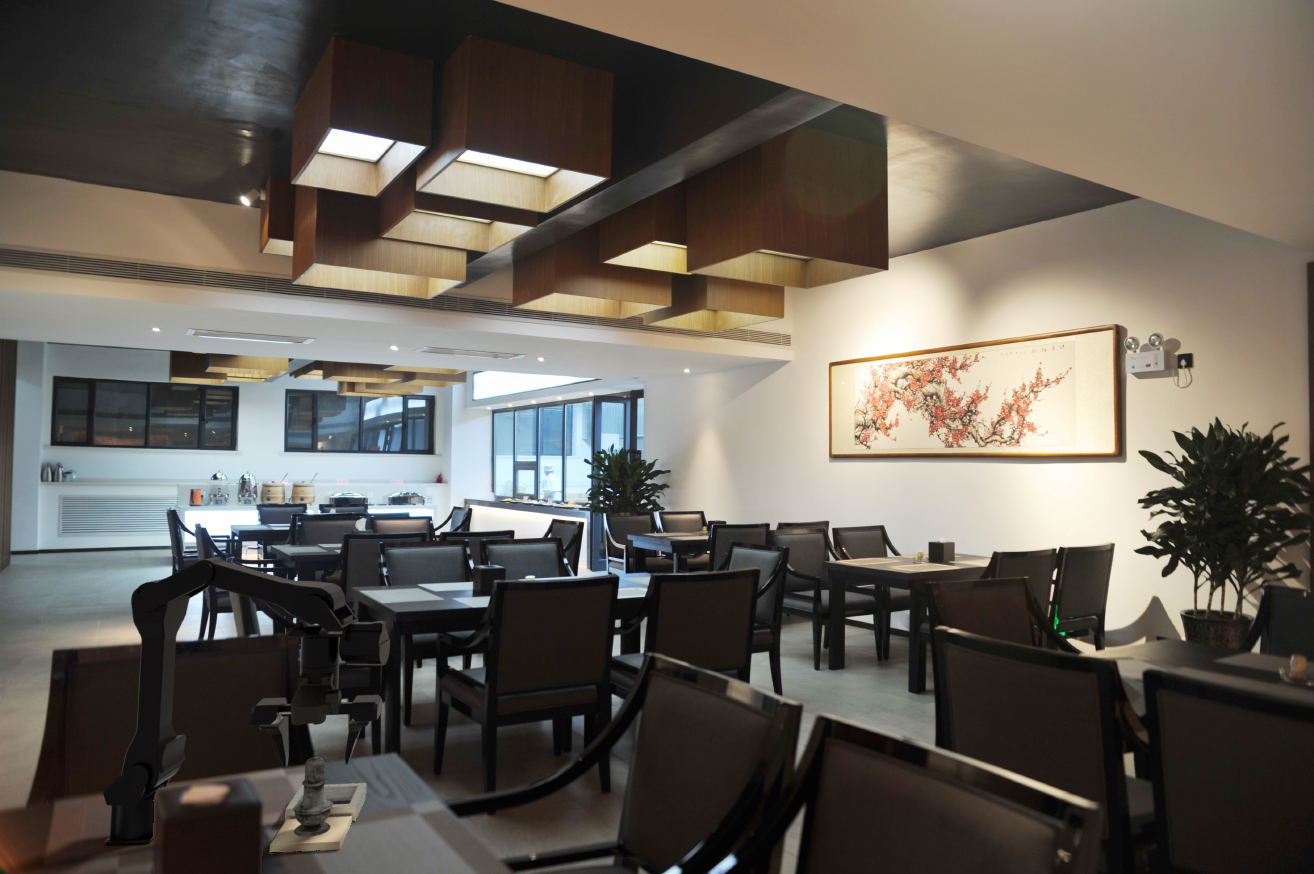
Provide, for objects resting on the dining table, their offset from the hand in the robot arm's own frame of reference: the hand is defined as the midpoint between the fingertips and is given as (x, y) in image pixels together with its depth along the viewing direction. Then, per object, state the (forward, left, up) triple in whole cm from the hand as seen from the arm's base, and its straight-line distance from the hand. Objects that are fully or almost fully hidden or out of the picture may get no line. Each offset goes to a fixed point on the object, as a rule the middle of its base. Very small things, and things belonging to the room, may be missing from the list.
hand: (316, 764), depth 134 cm
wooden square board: (0, 0, -11) cm, 11 cm away
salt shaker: (0, 0, -10) cm, 10 cm away
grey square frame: (0, +11, -11) cm, 16 cm away
